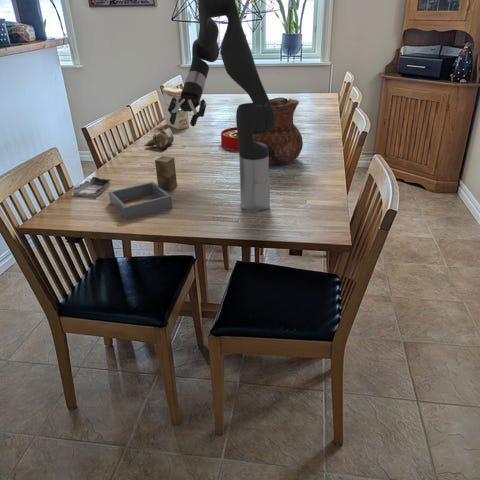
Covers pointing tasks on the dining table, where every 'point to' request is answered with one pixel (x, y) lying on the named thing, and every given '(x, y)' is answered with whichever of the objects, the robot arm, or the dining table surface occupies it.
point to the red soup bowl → (230, 138)
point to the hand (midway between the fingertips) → (181, 124)
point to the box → (143, 207)
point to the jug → (282, 134)
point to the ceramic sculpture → (161, 138)
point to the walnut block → (166, 173)
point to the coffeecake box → (181, 117)
